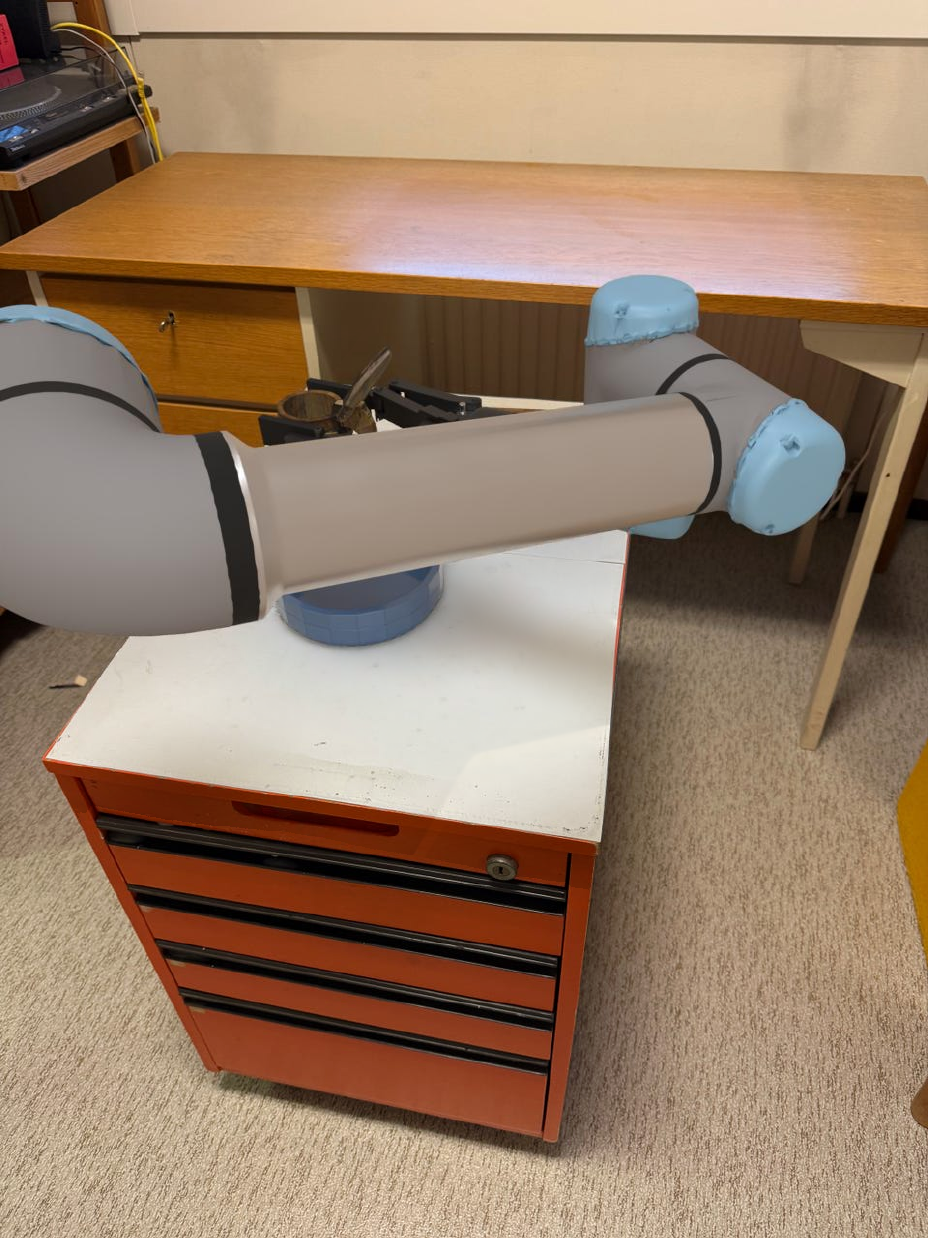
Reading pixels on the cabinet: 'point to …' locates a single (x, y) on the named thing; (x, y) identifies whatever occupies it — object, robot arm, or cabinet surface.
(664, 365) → the robot arm
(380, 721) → the cabinet surface
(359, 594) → the bowl
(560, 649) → the cabinet surface
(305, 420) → the wooden mug
